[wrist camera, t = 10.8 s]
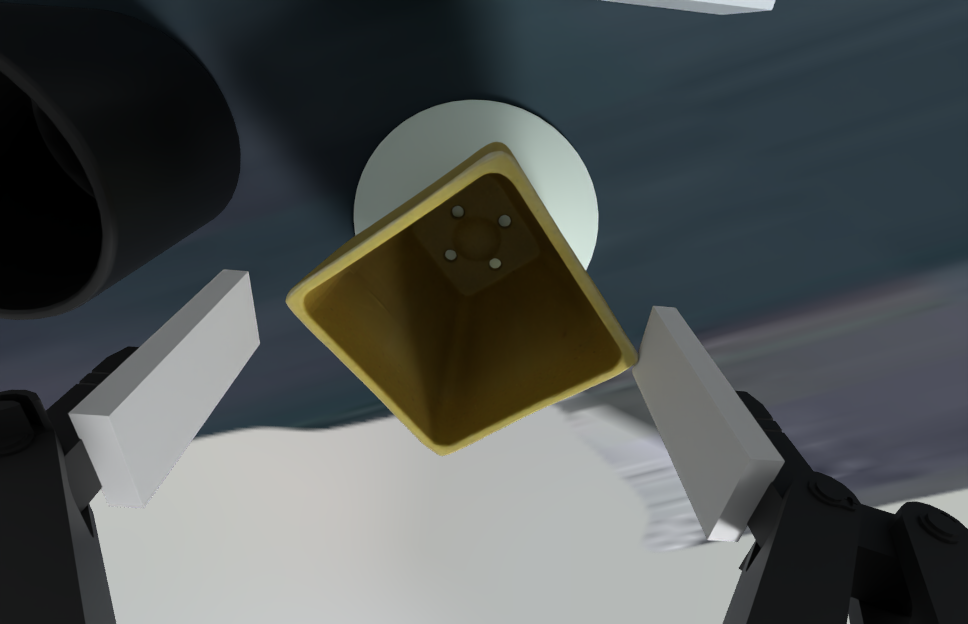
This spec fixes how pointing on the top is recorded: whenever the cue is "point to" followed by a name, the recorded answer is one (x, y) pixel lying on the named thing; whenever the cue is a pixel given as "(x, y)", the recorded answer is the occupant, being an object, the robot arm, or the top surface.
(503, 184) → the flower pot
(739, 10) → the bracket
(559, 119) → the top surface
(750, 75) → the top surface
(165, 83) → the mug
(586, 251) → the pad
